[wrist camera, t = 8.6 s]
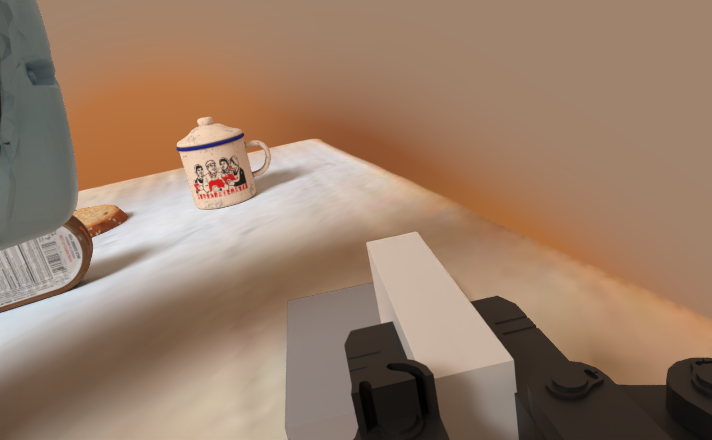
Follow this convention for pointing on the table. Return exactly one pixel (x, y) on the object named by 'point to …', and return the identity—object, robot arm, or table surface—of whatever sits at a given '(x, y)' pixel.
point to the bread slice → (100, 218)
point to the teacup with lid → (219, 165)
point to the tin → (44, 265)
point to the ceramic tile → (324, 362)
